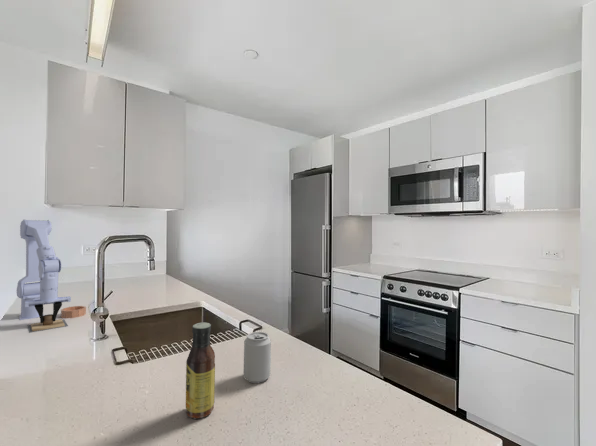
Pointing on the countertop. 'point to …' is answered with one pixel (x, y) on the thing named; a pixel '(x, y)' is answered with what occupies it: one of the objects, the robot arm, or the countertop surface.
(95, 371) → the countertop surface
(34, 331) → the mat
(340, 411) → the countertop surface
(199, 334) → the sauce bottle
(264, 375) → the can
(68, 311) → the bowl
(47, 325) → the lid
